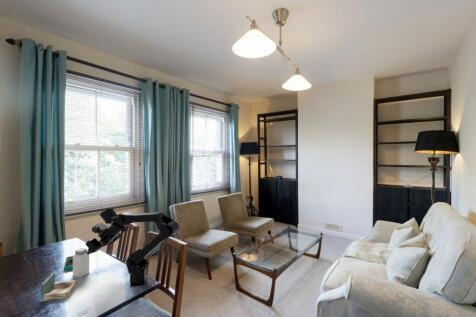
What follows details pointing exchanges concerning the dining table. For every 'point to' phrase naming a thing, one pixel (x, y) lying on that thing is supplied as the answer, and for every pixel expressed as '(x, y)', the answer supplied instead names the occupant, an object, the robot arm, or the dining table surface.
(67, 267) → the digital multimeter
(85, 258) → the connector plug
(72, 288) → the tray
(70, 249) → the dining table surface
